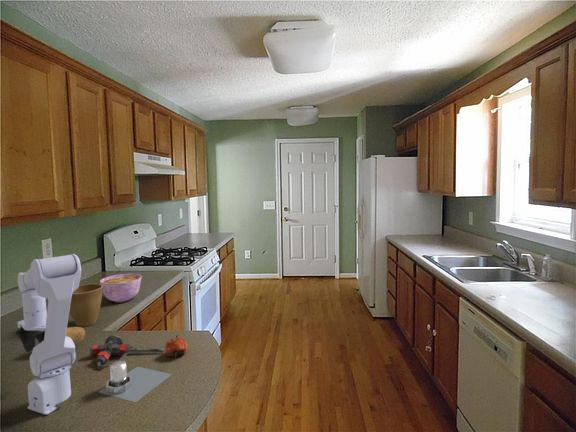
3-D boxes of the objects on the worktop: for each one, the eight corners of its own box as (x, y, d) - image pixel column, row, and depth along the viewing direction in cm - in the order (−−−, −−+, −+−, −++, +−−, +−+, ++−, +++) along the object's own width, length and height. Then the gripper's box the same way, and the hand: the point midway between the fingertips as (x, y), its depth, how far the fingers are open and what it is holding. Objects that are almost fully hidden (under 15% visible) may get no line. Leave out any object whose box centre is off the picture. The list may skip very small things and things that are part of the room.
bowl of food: (92, 305, 178) (90, 283, 177) (117, 293, 197) (116, 273, 196) (127, 307, 174) (126, 284, 173) (150, 294, 194) (149, 274, 193)
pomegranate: (188, 366, 121) (192, 339, 129) (181, 356, 116) (185, 329, 124) (167, 368, 122) (172, 341, 129) (159, 359, 117) (165, 331, 124)
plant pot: (107, 315, 164) (105, 282, 162) (101, 327, 150) (99, 291, 148) (71, 319, 159) (68, 285, 158) (61, 332, 145) (58, 295, 143)
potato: (85, 350, 129) (83, 329, 128) (39, 359, 123) (37, 337, 123) (87, 340, 138) (86, 320, 137) (44, 347, 132) (43, 326, 131)
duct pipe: (129, 387, 103) (127, 365, 103) (112, 393, 101) (111, 369, 100) (125, 380, 107) (124, 358, 106) (109, 385, 104) (108, 363, 104)
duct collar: (118, 396, 99) (118, 390, 99) (101, 391, 102) (100, 385, 102) (137, 383, 106) (136, 377, 105) (120, 378, 108) (119, 373, 108)
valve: (74, 376, 116) (98, 349, 130) (154, 378, 116) (168, 350, 131) (72, 359, 114) (96, 333, 129) (153, 361, 115) (167, 335, 129)
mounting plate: (135, 405, 96) (135, 402, 96) (98, 395, 102) (97, 391, 101) (172, 377, 110) (171, 374, 110) (137, 369, 115) (137, 366, 115)
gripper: (64, 308, 108) (67, 350, 109) (32, 303, 113) (36, 343, 114) (40, 316, 101) (44, 361, 103) (8, 310, 107) (12, 353, 108)
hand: (38, 352), depth 108 cm, fingers open, 7 cm apart
